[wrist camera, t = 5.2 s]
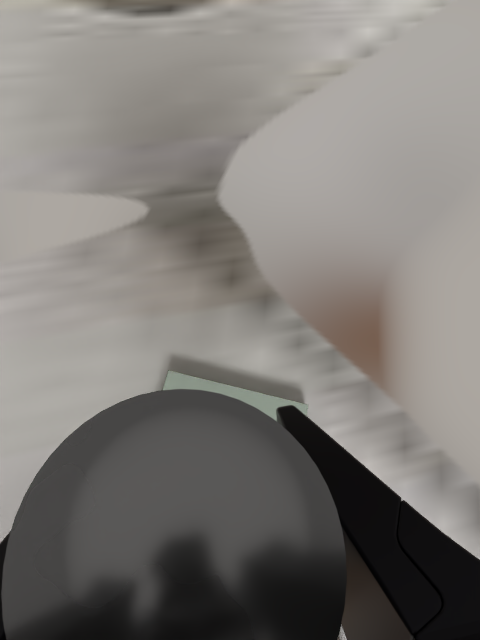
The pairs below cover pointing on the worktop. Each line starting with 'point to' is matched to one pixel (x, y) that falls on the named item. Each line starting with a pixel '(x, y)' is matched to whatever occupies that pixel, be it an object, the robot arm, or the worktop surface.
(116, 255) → the worktop surface
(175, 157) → the worktop surface
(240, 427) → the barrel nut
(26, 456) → the worktop surface
